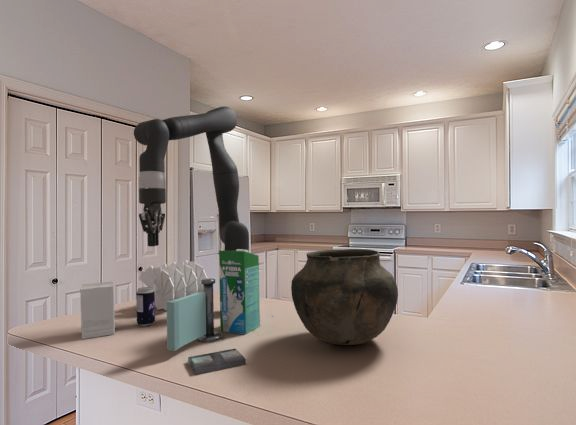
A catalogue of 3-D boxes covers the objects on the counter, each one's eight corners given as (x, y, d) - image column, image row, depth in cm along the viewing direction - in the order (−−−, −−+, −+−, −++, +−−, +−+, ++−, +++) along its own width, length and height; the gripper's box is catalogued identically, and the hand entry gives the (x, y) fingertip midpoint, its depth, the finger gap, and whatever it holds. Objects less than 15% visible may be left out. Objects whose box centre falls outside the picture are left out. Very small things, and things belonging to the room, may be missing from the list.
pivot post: (217, 332, 111) (216, 276, 111) (224, 339, 105) (223, 280, 105) (194, 336, 108) (193, 279, 108) (199, 343, 102) (198, 282, 102)
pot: (273, 357, 91) (271, 257, 91) (309, 321, 121) (308, 246, 121) (394, 372, 81) (392, 260, 81) (401, 329, 111) (400, 247, 111)
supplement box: (114, 327, 119) (113, 281, 119) (114, 334, 111) (114, 285, 111) (82, 331, 115) (81, 283, 115) (80, 339, 107) (79, 288, 107)
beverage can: (151, 327, 118) (150, 289, 118) (133, 327, 118) (133, 290, 118) (157, 321, 124) (157, 286, 124) (141, 322, 124) (140, 286, 124)
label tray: (235, 353, 94) (235, 346, 94) (246, 364, 87) (245, 357, 87) (188, 362, 89) (188, 355, 89) (195, 374, 82) (195, 367, 82)
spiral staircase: (205, 309, 155) (159, 321, 133) (178, 288, 163) (130, 297, 141) (221, 271, 153) (176, 277, 131) (192, 252, 161) (146, 255, 139)
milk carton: (260, 326, 117) (258, 248, 117) (245, 334, 109) (243, 250, 109) (236, 323, 121) (234, 247, 121) (220, 331, 113) (218, 250, 113)
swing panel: (200, 333, 105) (199, 291, 105) (207, 334, 104) (206, 291, 104) (167, 349, 92) (166, 301, 92) (174, 350, 91) (174, 302, 91)
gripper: (150, 189, 116) (150, 244, 115) (128, 186, 102) (129, 248, 102) (173, 189, 115) (174, 244, 115) (154, 185, 101) (155, 247, 101)
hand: (153, 245), depth 108 cm, fingers closed
